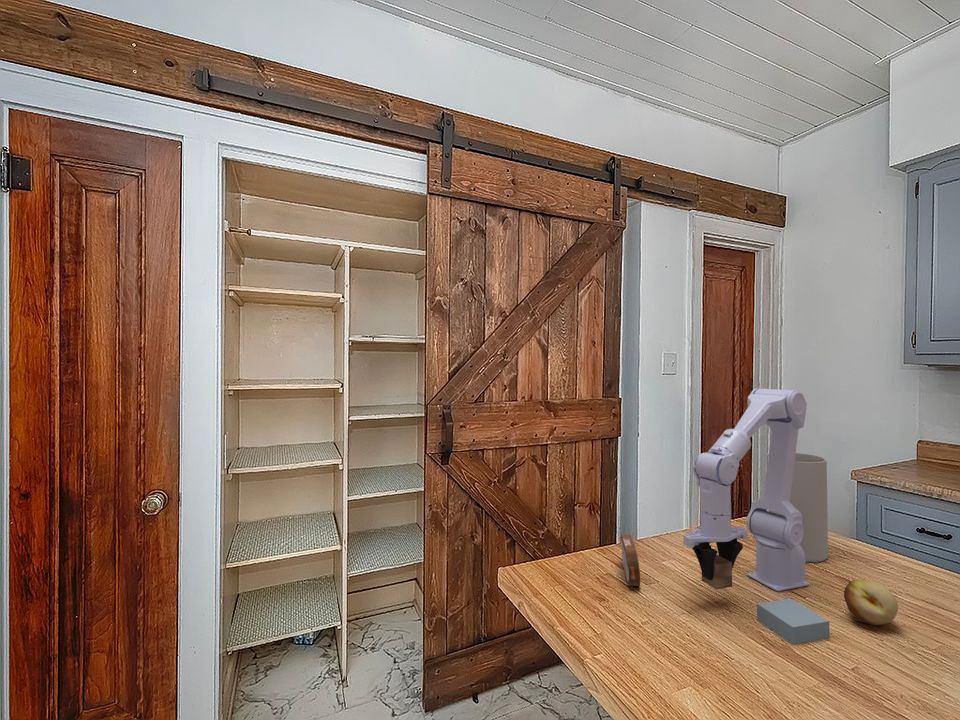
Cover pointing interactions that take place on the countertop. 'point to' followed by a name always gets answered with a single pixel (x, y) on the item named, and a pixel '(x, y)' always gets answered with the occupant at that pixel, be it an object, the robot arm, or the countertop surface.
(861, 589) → the fruit
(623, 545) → the tin
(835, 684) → the countertop surface
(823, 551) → the cylinder vase
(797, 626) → the base block
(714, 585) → the walnut block
